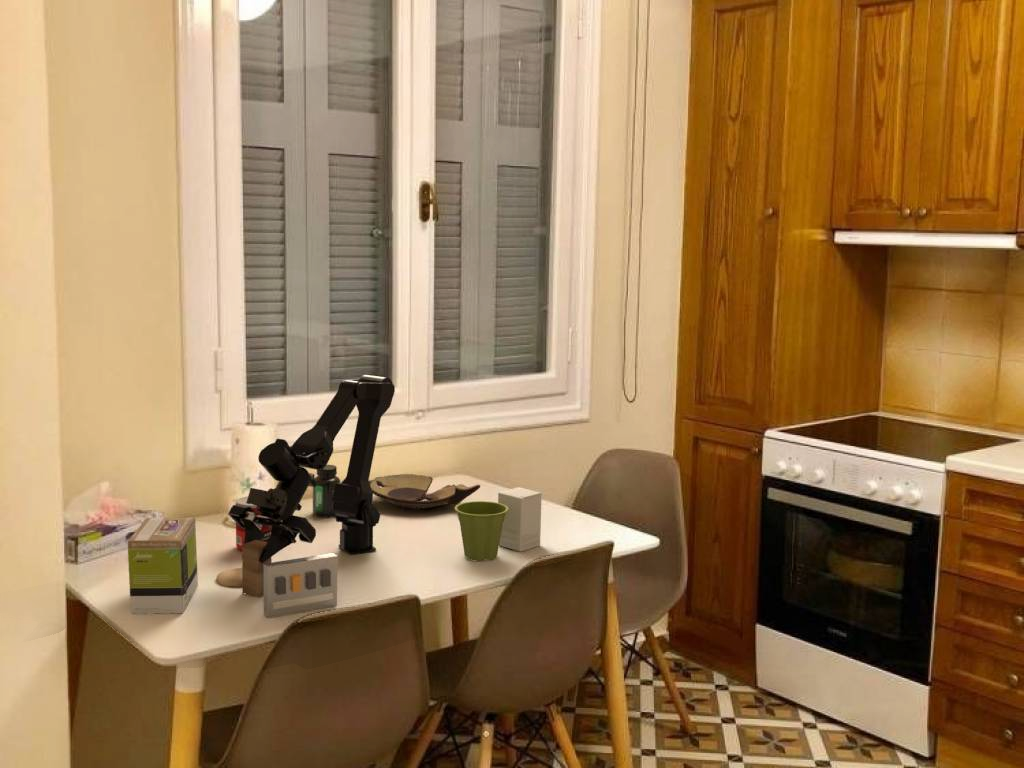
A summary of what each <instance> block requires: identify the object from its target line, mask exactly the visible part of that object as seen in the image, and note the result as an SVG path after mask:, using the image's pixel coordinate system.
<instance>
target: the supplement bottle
mask: <svg viewBox="0 0 1024 768" xmlns="http://www.w3.org/2000/svg"><path fill="white" fill-rule="evenodd" d="M337 470H338V468H337V466H336V465H335V464H327V465H326V466H325V467H324V468H323V469H319V470H316V475H317V476H314V477H315V480H316V487H312V514H313V516H315V515H316V516H315V517H318V516H321V517H320V518H332V517H331V516H334V517H335V515H334V511H333V508H332V503H333V501H332V498H333V495H334V489H335V485H336V483H340V484H341V482H342V480H341V479H340V477H338V476H337V474H338V471H337Z"/></svg>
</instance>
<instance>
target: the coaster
mask: <svg viewBox="0 0 1024 768" xmlns="http://www.w3.org/2000/svg"><path fill="white" fill-rule="evenodd" d="M216 582H217V583H218V584H219V583H220V585H221V584H223V585H222V586H224V585H227V586H226V587H229V586H236V587H235V588H242V567H237V568H231V569H227V570H224V571H221V572H220V573H218V574H217V575H216Z"/></svg>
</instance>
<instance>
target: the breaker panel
mask: <svg viewBox="0 0 1024 768" xmlns="http://www.w3.org/2000/svg"><path fill="white" fill-rule="evenodd" d="M337 606H338V555H337V554H335V553H334V552H333V553H325V554H324V553H323V554H318V555H312V556H306V557H299V558H298V557H297V558H291V559H285V560H280V561H279V560H278V561H273V562H272V563H265V564H264V595H263V615H264V617H265V618H267V619H270V618H276V617H277V618H278V617H280V616H281V617H282V616H288V615H293V614H298V613H303V612H310V611H315V610H320V609H326V608H331V607H332V608H333V607H337Z"/></svg>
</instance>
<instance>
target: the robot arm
mask: <svg viewBox="0 0 1024 768" xmlns="http://www.w3.org/2000/svg"><path fill="white" fill-rule="evenodd" d="M395 392H396V386H395V385H394V383H393V381H392V380H391V378H390V377H386V376H385V377H384V376H377V375H368V374H364V375H361V376H360V378H358V379H357V378H355V379H352V378H351V379H346V380H342V381H341V382H340V383H339V385H338V390H337V392H336V393H335V394H334V395H333V398H332V399H331V400H330V402H329V403H328V405H327V406H326V408H325V410H324V411H323V413H322V414H321V415H320V417H319V418H318V420H317V421H316V423H315V424H314V425H313V426H312V428H310V429H308V430H306V431H305V432H303V433H301V435H300V436H298V438H297V439H296V440H295V441H294V442H293V444H292V445H289V442H288V441H287V440H286V439H284V438H283V439H282V438H276V439H275V442H272V443H270V444H268V445H266V446H265V447H263V448H262V449H261V450H260V452H259V454H258V462H259V463H260V465H261V466H262V467H263V468H264V470H265V471H266V472H267V473H268V475H270V476H271V478H272V479H273V480H275V481H277V482H278V483H277V484H276V486H275V488H271V487H270V488H269V489H268V490H264V489H259V488H254V487H250V489H249V493H248V495H247V497H248V499H247V502H246V503H247V504H253V505H256V506H257V507H256V509H257V510H258V511H259V512H261V515H258V514H256V513H255V512H254V511H253V509H252V508H251V507H250V506H245V505H240V504H236V503H235V504H233V505H232V506H231V508H230V509H229V511H228V513H227V515H228V516H229V517H230V518H231V519H232V520H233V521H234V522H235V524H236V523H237V524H238V525H239V526H240V527H241V528H243V529H245V539H244V544H245V543H248V542H251V541H254V540H260V541H261V540H262V539H263V537H264V536H265V534H264V533H263V532H262V531H261V527H262V525H263V526H268V527H272V530H271V536H270V538H269V540H268V542H267V544H266V546H265V548H264V550H263V552H262V554H261V556H260V559H259V561H260V562H261V563H264V562H265V561H266V560H268V559H269V558H271V557H272V558H273V556H275V555H276V554H277V553H279V552H280V551H282V550H283V549H285V548H287V547H288V546H290V545H292V544H296V543H297V540H296V537H297V536H298V539H299V540H300V542H303V543H307V544H308V543H309V544H313V542H314V540H315V538H316V536H317V531H316V528H315V527H314V525H312V523H311V522H310V521H309V520H308V519H307V518H306V517H302V516H297V515H294V514H295V512H296V511H298V512H299V511H300V512H301V509H302V507H303V506H302V505H301V503H300V502H301V501H302V499H303V497H304V495H305V493H306V491H307V490H308V488H309V487H310V488H311V487H312V488H313V487H316V480H315V477H316V476H315V473H311V472H309V471H308V469H311V470H316V471H317V470H319V469H323V468H324V467H325V466H326V465H328V463H329V462H330V460H331V456H332V455H333V452H334V441H335V439H336V437H337V435H338V434H339V433H340V430H341V429H342V428H343V426H344V425H345V422H346V421H347V420H348V419H349V417H350V415H351V414H352V412H353V411H354V410H355V408H357V412H358V416H357V421H356V425H355V431H354V436H353V442H352V447H351V450H350V458H349V461H348V462H349V463H348V466H347V472H346V476H345V478H344V479H343V480H341V484H340V483H336V485H335V489H334V495H333V498H332V501H333V503H332V508H333V511H334V515H335V516H334V517H335V518H334V519H335V521H336V522H337V523H341V529H339V544H338V547H339V549H341V550H343V551H344V552H345V553H347V554H349V555H355V554H362V553H366V552H367V553H368V552H374V551H377V548H376V547H375V546H374V542H373V541H374V527H375V526H377V524H379V522H380V518H381V513H380V511H379V510H378V509H377V508H376V506H375V504H373V499H374V494H373V492H372V490H371V487H370V484H369V481H370V475H371V469H372V466H373V465H372V464H373V460H374V459H373V458H374V455H375V454H374V453H375V450H376V445H377V444H376V443H377V438H378V435H379V434H378V433H379V430H380V429H379V428H380V424H381V419H382V417H383V416H384V415H385V413H386V412H387V411H388V410H389V409H390V407H391V405H392V401H393V398H394V396H395Z"/></svg>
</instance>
